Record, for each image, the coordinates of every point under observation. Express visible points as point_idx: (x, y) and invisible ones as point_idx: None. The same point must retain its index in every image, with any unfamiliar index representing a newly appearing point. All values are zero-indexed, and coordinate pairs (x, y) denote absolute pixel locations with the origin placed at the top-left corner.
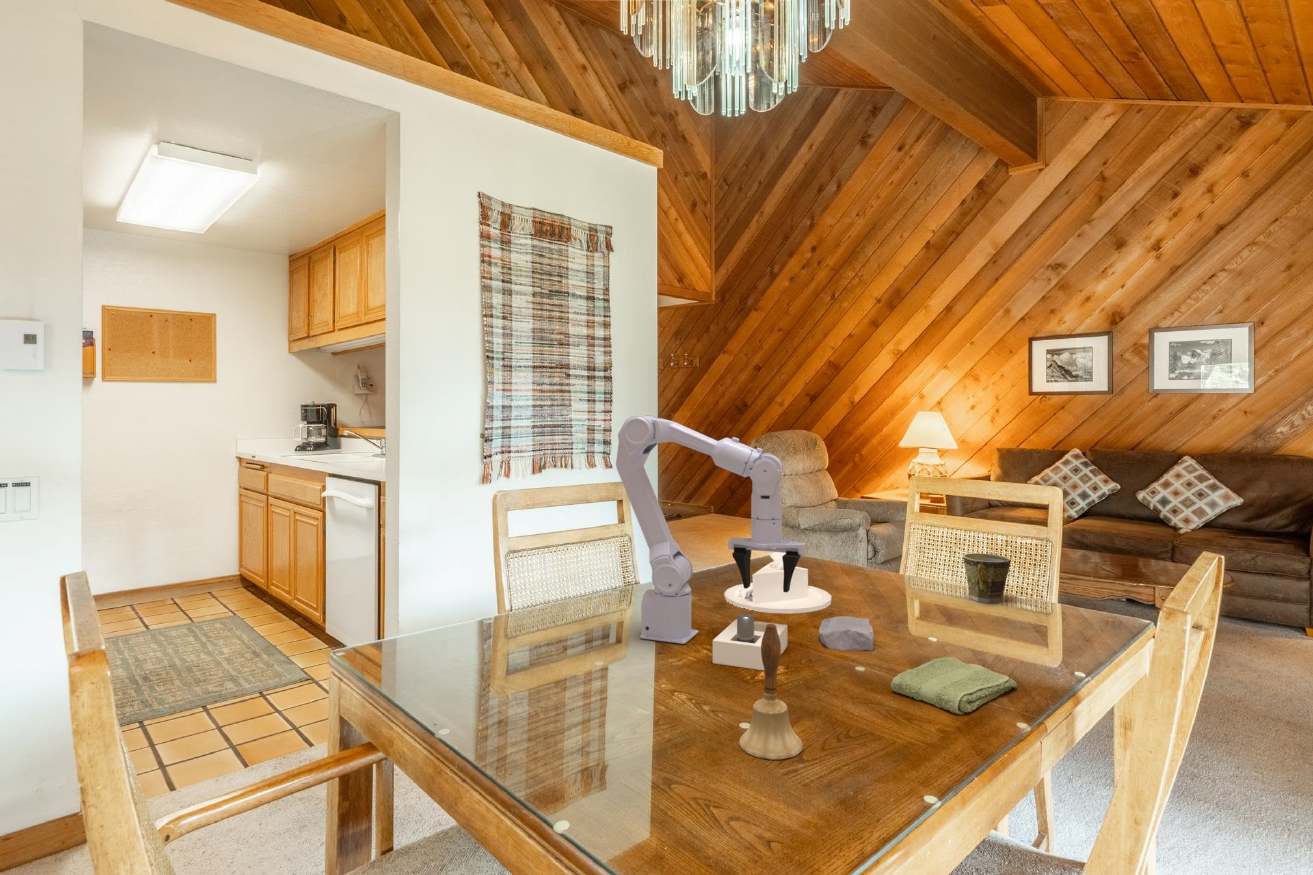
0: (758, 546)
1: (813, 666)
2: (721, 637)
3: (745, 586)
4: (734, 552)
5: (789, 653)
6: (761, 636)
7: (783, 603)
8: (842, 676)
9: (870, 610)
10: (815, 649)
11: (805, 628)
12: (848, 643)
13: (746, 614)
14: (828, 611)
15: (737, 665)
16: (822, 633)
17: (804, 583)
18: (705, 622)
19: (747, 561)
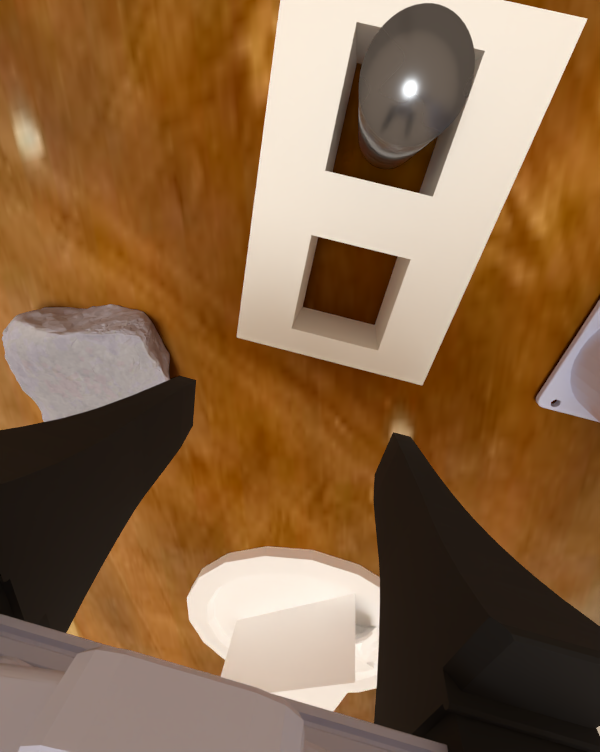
0: (239, 727)
1: (158, 122)
2: (523, 98)
3: (404, 438)
4: (596, 710)
5: (244, 247)
6: (325, 161)
7: (285, 595)
8: (53, 26)
9: (111, 558)
10: (177, 297)
11: (223, 455)
12: (85, 315)
13: (406, 125)
14: (188, 555)
15: None
16: (149, 353)
17: (233, 655)
18: (493, 487)
19: (408, 600)
